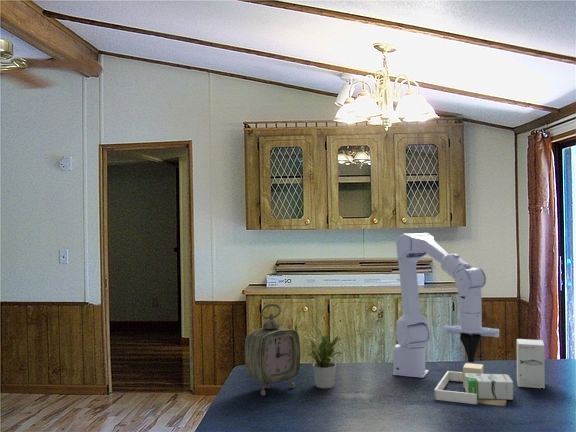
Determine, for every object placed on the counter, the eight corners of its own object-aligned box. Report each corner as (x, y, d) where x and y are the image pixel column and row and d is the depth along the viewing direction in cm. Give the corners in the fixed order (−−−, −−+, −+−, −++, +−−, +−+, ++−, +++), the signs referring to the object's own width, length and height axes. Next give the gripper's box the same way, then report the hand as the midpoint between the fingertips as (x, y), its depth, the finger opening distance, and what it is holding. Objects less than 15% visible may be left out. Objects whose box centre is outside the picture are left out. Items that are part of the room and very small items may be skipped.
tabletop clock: (261, 399, 168) (259, 308, 168) (242, 391, 175) (240, 305, 175) (301, 388, 177) (299, 302, 177) (281, 381, 184) (279, 299, 184)
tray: (434, 399, 165) (433, 389, 165) (447, 379, 183) (447, 370, 183) (476, 404, 160) (476, 394, 160) (486, 383, 179) (485, 374, 179)
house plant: (360, 390, 174) (359, 333, 174) (316, 396, 169) (315, 338, 169) (338, 377, 188) (337, 324, 187) (297, 383, 183) (296, 328, 182)
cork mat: (465, 401, 163) (465, 401, 163) (471, 390, 173) (471, 389, 173) (505, 406, 158) (505, 405, 158) (508, 394, 168) (508, 393, 168)
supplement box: (517, 387, 174) (517, 343, 174) (516, 380, 181) (516, 338, 181) (545, 389, 172) (544, 345, 172) (543, 382, 179) (542, 339, 179)
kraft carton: (463, 388, 175) (462, 367, 175) (465, 383, 180) (465, 363, 179) (481, 389, 173) (481, 368, 173) (483, 385, 177) (483, 364, 177)
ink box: (467, 399, 164) (514, 400, 162) (467, 380, 164) (513, 382, 162) (464, 389, 173) (508, 391, 170) (464, 372, 173) (508, 373, 170)
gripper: (441, 312, 166) (441, 362, 166) (496, 316, 160) (497, 367, 160) (445, 308, 173) (446, 356, 173) (499, 311, 167) (500, 361, 167)
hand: (471, 361), depth 167 cm, fingers closed
